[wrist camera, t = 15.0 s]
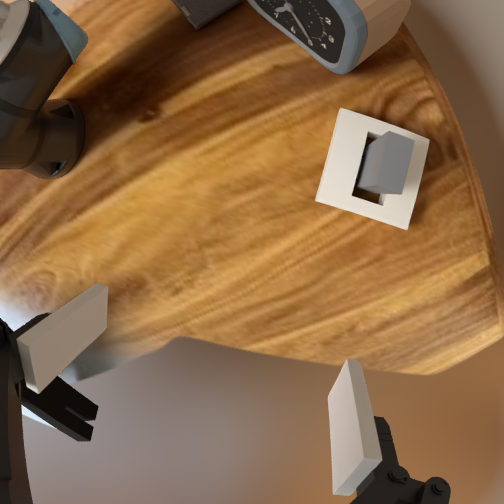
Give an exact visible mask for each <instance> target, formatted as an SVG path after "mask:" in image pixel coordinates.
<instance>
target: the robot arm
mask: <svg viewBox="0 0 504 504" xmlns="http://www.w3.org/2000/svg"><path fill="white" fill-rule="evenodd" d="M87 42H88V36H87V34H86V32H85V31H84V30H83V29H81V28H80V27H79V26H78V25H77V24H76V23H75V22H74V21H73V20H72V19H70V18H69V17H68V16H67V15H66V14H65V13H64V12H62V11H61V10H60V9H59V8H58V7H57V6H56V5H55V4H53V3H52V2H51V1H50V0H34V2H31V1H29V0H16V1H14V2H12V3H6V2H4V1H2V0H0V169H23V170H24V171H26V172H28V173H30V174H32V175H34V176H36V177H39V178H42V179H56V178H59V177H61V176H63V175H65V174H66V173H67V172H68V171H69V170H70V169H71V168H72V167H73V165H74V164H75V162H76V161H77V159H78V157H79V155H80V153H81V150H82V147H83V143H84V137H85V123H84V118H83V114H82V112H81V110H80V109H79V107H78V106H77V105H76V104H74V103H73V102H71V101H67V100H64V99H52V100H47V99H48V98H49V96H50V95H51V93H52V92H53V90H54V89H55V87H56V86H57V84H58V83H59V82H60V80H61V79H62V77H63V76H64V75H65V73H66V72H67V71H68V69H69V68H70V67H71V65H72V64H75V62H76V59H77V57H78V56H79V55H80V53H81V52H82V51H83V49H84V48H85V47H86V45H87ZM107 304H108V287H107V286H104V285H101V284H99V283H96V284H95V285H93V286H92V287H90V288H89V289H87V290H86V291H84V292H83V293H81V294H80V295H78V296H77V297H75V298H74V299H72V300H71V301H69V302H68V303H66V304H65V305H63V306H62V307H61V308H59V309H58V310H56V311H55V312H53V313H52V314H48V313H44V314H41V315H38V316H36V317H35V318H33V319H32V320H31V321H29V322H27V323H26V324H25V325H23V326H22V327H20V328H19V329H17V330H16V331H14V332H13V333H12V334H9V328H8V325H7V323H6V322H4V321H2V320H0V504H33V501H32V496H31V491H30V485H29V480H28V473H27V467H26V459H25V450H24V440H23V428H22V409H21V384H20V381H21V380H22V379H23V378H24V377H25V381H26V385H27V387H28V388H30V389H31V390H33V391H34V392H36V393H38V394H39V393H40V392H41V391H42V390H43V389H44V388H45V387H46V386H47V385H48V384H49V383H50V382H51V381H52V380H53V379H54V378H55V377H56V376H58V375H59V374H60V373H61V372H62V371H63V370H64V369H65V368H66V367H67V366H68V365H69V364H70V363H71V362H72V361H73V360H74V359H75V358H76V357H77V356H78V355H79V354H80V353H81V352H82V351H84V350H85V349H86V348H87V347H88V346H89V345H90V344H91V343H92V342H93V341H94V340H95V339H96V338H97V337H98V336H99V335H100V334H102V333H103V332H104V331H105V330H106V329H107ZM328 406H329V418H330V419H329V420H330V436H331V453H332V475H333V476H332V477H333V494H335V495H347V496H350V495H351V494H352V493H353V492H354V491H355V490H357V497H356V498H355V499H354V500H353V501H352V502H351V503H350V504H448V503H449V499H450V491H451V490H450V486H449V484H448V483H447V482H446V481H445V480H444V479H442V478H440V477H432V478H430V479H429V480H427V481H426V482H421V481H417V480H415V479H412V478H410V476H409V474H408V472H407V470H405V469H404V468H403V467H401V466H399V464H398V460H397V455H396V451H395V447H394V443H393V439H392V436H391V431H390V427H389V425H388V424H387V422H386V421H385V419H384V418H383V417H376V416H373V412H372V408H371V404H370V399H369V395H368V391H367V387H366V382H365V378H364V375H363V370H362V366H361V363H360V361H356V360H352V359H346V361H345V363H344V365H343V368H342V370H341V372H340V374H339V376H338V378H337V380H336V382H335V384H334V386H333V388H332V390H331V392H330V394H329V396H328Z"/></svg>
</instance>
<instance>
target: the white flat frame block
mask: <svg viewBox="0 0 504 504" xmlns="http://www.w3.org/2000/svg"><path fill="white" fill-rule="evenodd" d="M387 131H391V132H394V133H397V134H399V135H402V136H405V137H407V138H410V139H412V140H415V141H414V146H413V151H412V155H411V160H410V164H409V168H408V172H407V176H406V180H405V184H404V188H403V192H402V195H399V194H380V197H379V201H378V204H375V203H372V202H369V201H366V200H363V199H360V198H357V197H354V196H352V192H353V188H354V185H355V181H356V177H357V173H358V170H359V166H360V162H361V158H362V154H363V150H364V146H365V142H366V138H367V137H369V138H372V139H375V140H376V139H378V138H379V137H380V136H382V135H383V134H385V133H386V132H387ZM429 141H430V140H429V139H427V138H425V137H422V136H420V135H417V134H415V133H412V132H410V131H407V130H404V129H402V128H399V127H397V126H394V125H391V124H388V123H386V122H383V121H380V120H377V119H374V118H371V117H368V116H365V115H362V114H359V113H356V112H353V111H350V110H346V109H343V108H340V110H339V112H338V115H337V120H336V124H335V128H334V131H333V135H332V139H331V143H330V147H329V151H328V155H327V159H326V162H325V166H324V170H323V174H322V177H321V181H320V185H319V188H318V192H317V195H316V199H315V201H318V202H321V203H324V204H328V205H331V206H334V207H337V208H341V209H344V210H347V211H350V212H353V213H357V214H360V215H363V216H366V217H369V218H372V219H375V220H378V221H381V222H384V223H387V224H390V225H393V226H396V227H399V228H402V229H405V230H407V229H408V225H409V222H410V218H411V215H412V211H413V208H414V204H415V200H416V197H417V193H418V189H419V185H420V181H421V177H422V173H423V168H424V164H425V160H426V155H427V150H428V146H429Z"/></svg>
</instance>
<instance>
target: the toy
mask: <svg viewBox="0 0 504 504" xmlns="http://www.w3.org/2000/svg"><path fill="white" fill-rule="evenodd" d="M0 320H2V319H1V318H0ZM31 320H32V319H31ZM31 320H30V321H31ZM2 321H3V320H2ZM8 328H9V334H12V333H13V332H14V331H13V330H12V329H11V328H10V327H9V326H8ZM20 384H21V404H22V405H23V406H24V407H26V408H27V409H29V410H30V411H31V412H33V413H34V414H36V415H37V416H39V417H40V418H42V419H43V420H45V421H46V422H48V423H49V424H51V425H52V426H54V427H55V428H57V429H58V430H60V431H62V432H63V433H65V434H67V435H68V436H70V437H72V438H73V439H75V440H77V441H90V440H91V436H92V432H93V428H94V427H93V426H91V425H90V424H88V423H86V422H85V421H89V420H95V418H96V415H97V411H98V406H97V405H96V404H94V403H93V402H92V401H90V400H89V399H87V398H86V397H85V396H83V395H82V394H80V393H79V392H78V391H76V390H75V389H73V388H72V387H71V386H70V385H69V384H67V383H66V382H65V381H63V380H62V379H61V378H60V377H58V376H56V377H55V378H54V379H53V380H52V381H51V382H50V383H49V384H48V385H47V386H46V387H45V388H44V389H43V390H42V391H41V392H40V393H39V394H38V393H36V392H34V391H33V390H31V389H30V388H28V387H27V385H26V381H25V377H24V378H23V379H22V380H21V381H20Z"/></svg>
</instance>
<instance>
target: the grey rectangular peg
mask: <svg viewBox="0 0 504 504" xmlns="http://www.w3.org/2000/svg"><path fill="white" fill-rule="evenodd" d="M414 141H415V140H412V139H410V138H407V137H405V136H402V135H399V134H397V133H394V132H391V131H387V132H386V133H385V134H383V135H382V136H380V137H379V138H378V139H376V140H375V141H373V142H372V143H371V144H369V145H368V146H366V147H365V151H364V155H363V159H362V163H361V167H360V171H359V175H358V179H357V182H356V186H355V187H357V188H360V189H363V190H366V191H369V192H372V193H375V194H399V195H402V192H403V188H404V184H405V180H406V176H407V172H408V168H409V164H410V160H411V155H412V151H413V146H414Z"/></svg>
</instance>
